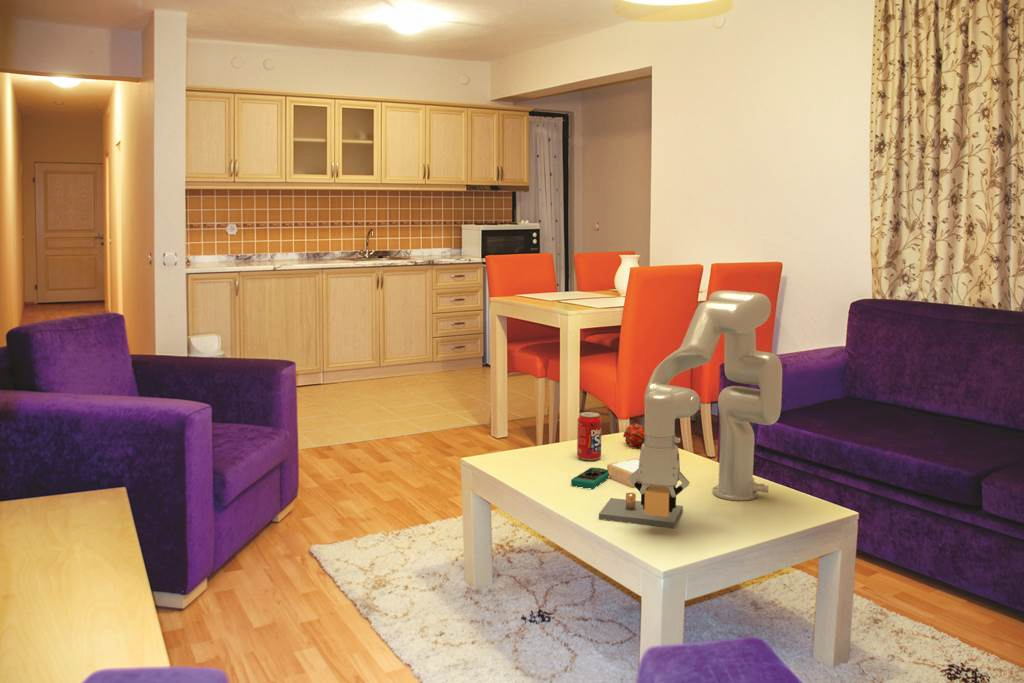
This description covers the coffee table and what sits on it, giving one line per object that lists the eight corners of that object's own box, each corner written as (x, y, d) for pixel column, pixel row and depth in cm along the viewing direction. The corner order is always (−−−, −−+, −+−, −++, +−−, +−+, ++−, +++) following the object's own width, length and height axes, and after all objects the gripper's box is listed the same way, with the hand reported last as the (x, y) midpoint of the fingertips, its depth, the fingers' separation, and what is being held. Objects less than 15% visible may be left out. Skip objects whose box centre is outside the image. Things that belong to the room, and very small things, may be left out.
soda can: (575, 455, 302) (575, 411, 300) (598, 455, 303) (599, 411, 300) (579, 462, 294) (580, 417, 292) (603, 461, 295) (604, 416, 293)
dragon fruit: (629, 445, 321) (646, 459, 310) (613, 434, 317) (629, 447, 306) (643, 426, 321) (660, 439, 310) (627, 414, 317) (644, 427, 306)
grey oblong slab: (682, 511, 247) (682, 505, 247) (674, 528, 234) (674, 522, 234) (610, 503, 254) (610, 497, 253) (598, 519, 241) (598, 513, 240)
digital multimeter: (612, 478, 279) (612, 469, 278) (593, 491, 266) (593, 481, 265) (590, 474, 282) (590, 465, 282) (570, 487, 269) (570, 478, 269)
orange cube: (672, 508, 233) (672, 486, 232) (668, 516, 228) (668, 493, 227) (648, 506, 235) (649, 484, 234) (644, 514, 230) (644, 491, 229)
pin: (636, 507, 245) (636, 493, 245) (634, 510, 243) (634, 496, 242) (626, 506, 246) (627, 492, 246) (624, 509, 244) (625, 495, 243)
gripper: (696, 439, 229) (694, 507, 232) (628, 434, 235) (628, 500, 238) (691, 447, 222) (690, 517, 225) (622, 442, 228) (621, 510, 231)
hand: (658, 508), depth 231 cm, fingers closed on orange cube, 5 cm apart
